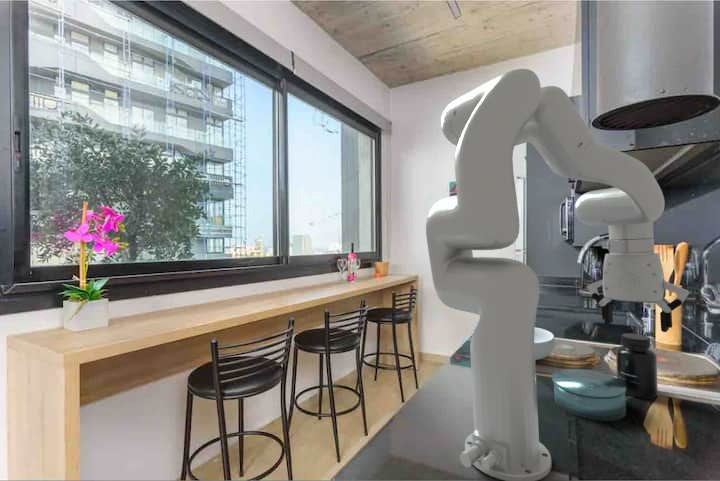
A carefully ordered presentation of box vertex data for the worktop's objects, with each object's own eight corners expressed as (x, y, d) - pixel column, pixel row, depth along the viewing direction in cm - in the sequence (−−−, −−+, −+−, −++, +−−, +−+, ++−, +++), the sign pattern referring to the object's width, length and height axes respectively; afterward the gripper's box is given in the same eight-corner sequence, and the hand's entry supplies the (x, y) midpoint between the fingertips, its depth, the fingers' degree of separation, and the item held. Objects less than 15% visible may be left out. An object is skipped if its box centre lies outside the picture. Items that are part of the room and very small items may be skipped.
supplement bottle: (620, 396, 73) (618, 339, 73) (614, 383, 79) (612, 330, 79) (662, 401, 70) (660, 342, 70) (653, 388, 76) (650, 333, 76)
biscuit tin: (616, 429, 61) (615, 401, 61) (543, 406, 71) (541, 381, 71) (635, 404, 69) (633, 379, 69) (567, 386, 79) (565, 364, 79)
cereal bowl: (477, 352, 103) (476, 329, 103) (522, 345, 108) (521, 322, 108) (519, 373, 87) (518, 345, 87) (570, 363, 92) (569, 336, 92)
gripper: (579, 249, 79) (583, 324, 79) (682, 248, 65) (687, 338, 65) (590, 246, 83) (595, 317, 84) (689, 245, 70) (694, 329, 70)
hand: (635, 326), depth 74 cm, fingers open, 9 cm apart
